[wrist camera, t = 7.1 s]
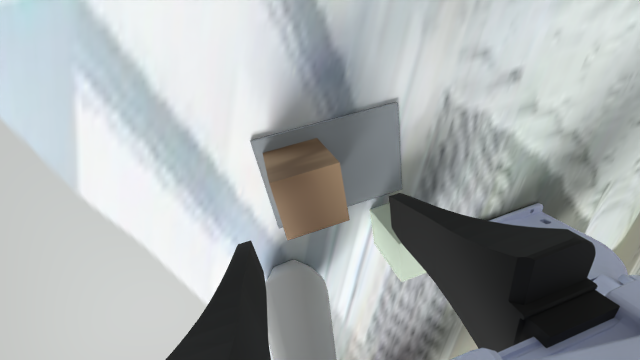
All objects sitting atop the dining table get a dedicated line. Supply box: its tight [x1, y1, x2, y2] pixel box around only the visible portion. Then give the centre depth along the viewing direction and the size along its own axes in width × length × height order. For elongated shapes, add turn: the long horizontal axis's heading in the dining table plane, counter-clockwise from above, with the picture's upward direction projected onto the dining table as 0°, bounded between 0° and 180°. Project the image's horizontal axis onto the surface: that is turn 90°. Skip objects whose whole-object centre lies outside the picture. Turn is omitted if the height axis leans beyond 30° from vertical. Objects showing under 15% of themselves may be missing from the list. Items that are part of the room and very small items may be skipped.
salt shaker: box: [265, 260, 337, 360], centre depth 19 cm, size 6×6×13 cm
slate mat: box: [250, 102, 402, 228], centre depth 21 cm, size 11×8×1 cm
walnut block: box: [263, 138, 349, 240], centre depth 18 cm, size 4×4×5 cm
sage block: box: [370, 196, 427, 282], centre depth 23 cm, size 4×4×5 cm
